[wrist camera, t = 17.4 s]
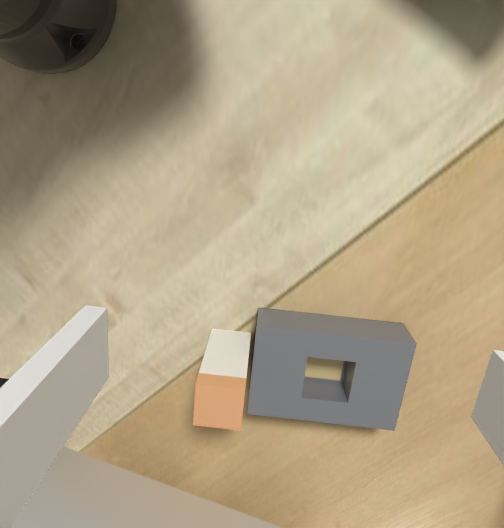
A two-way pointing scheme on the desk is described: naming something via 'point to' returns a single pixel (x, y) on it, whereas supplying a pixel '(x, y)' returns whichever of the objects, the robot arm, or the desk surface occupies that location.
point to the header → (329, 368)
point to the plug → (222, 380)
